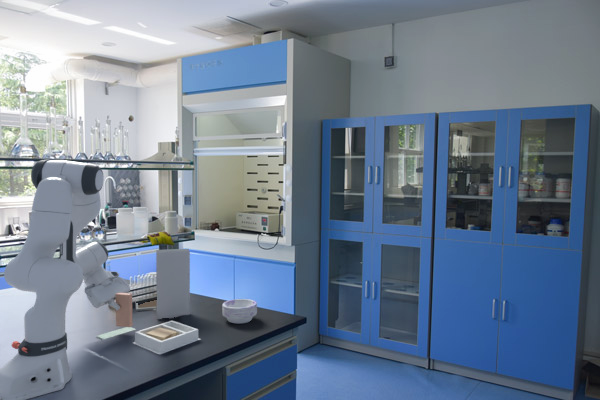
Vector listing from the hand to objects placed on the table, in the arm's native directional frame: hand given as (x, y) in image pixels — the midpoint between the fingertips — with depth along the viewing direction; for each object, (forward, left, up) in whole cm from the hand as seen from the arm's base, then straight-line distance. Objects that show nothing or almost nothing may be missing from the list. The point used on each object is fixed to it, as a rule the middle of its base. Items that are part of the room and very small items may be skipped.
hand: (122, 307), depth 181 cm
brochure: (+28, +4, -12) cm, 30 cm away
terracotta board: (0, -1, -7) cm, 7 cm away
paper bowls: (+43, -23, -12) cm, 50 cm away
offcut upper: (+4, -20, -8) cm, 22 cm away
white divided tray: (+6, -20, -11) cm, 24 cm away
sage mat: (0, -1, -11) cm, 11 cm away
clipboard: (+36, +28, -12) cm, 47 cm away
